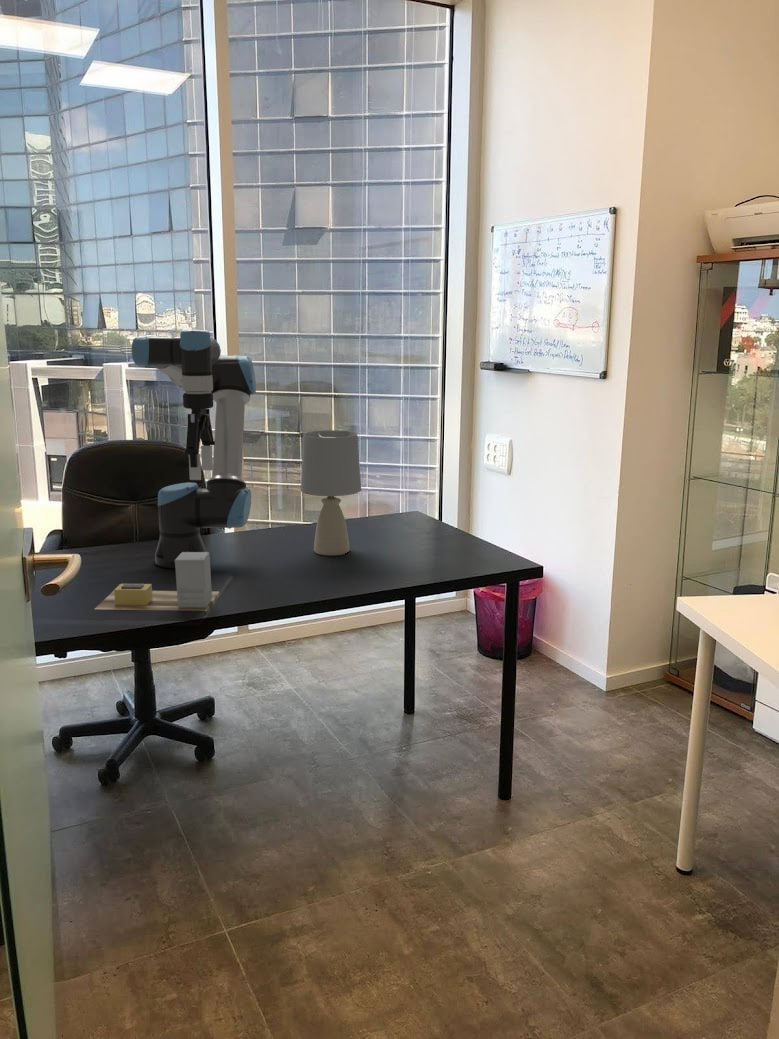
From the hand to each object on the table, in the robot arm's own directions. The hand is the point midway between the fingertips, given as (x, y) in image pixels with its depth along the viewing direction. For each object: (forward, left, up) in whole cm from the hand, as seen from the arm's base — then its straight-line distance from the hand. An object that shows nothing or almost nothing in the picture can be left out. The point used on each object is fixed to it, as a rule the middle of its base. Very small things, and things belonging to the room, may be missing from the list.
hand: (201, 474), depth 224 cm
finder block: (+12, -16, -31) cm, 37 cm away
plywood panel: (+11, -10, -32) cm, 35 cm away
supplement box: (+13, 0, -31) cm, 33 cm away
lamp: (-41, +30, -32) cm, 60 cm away
